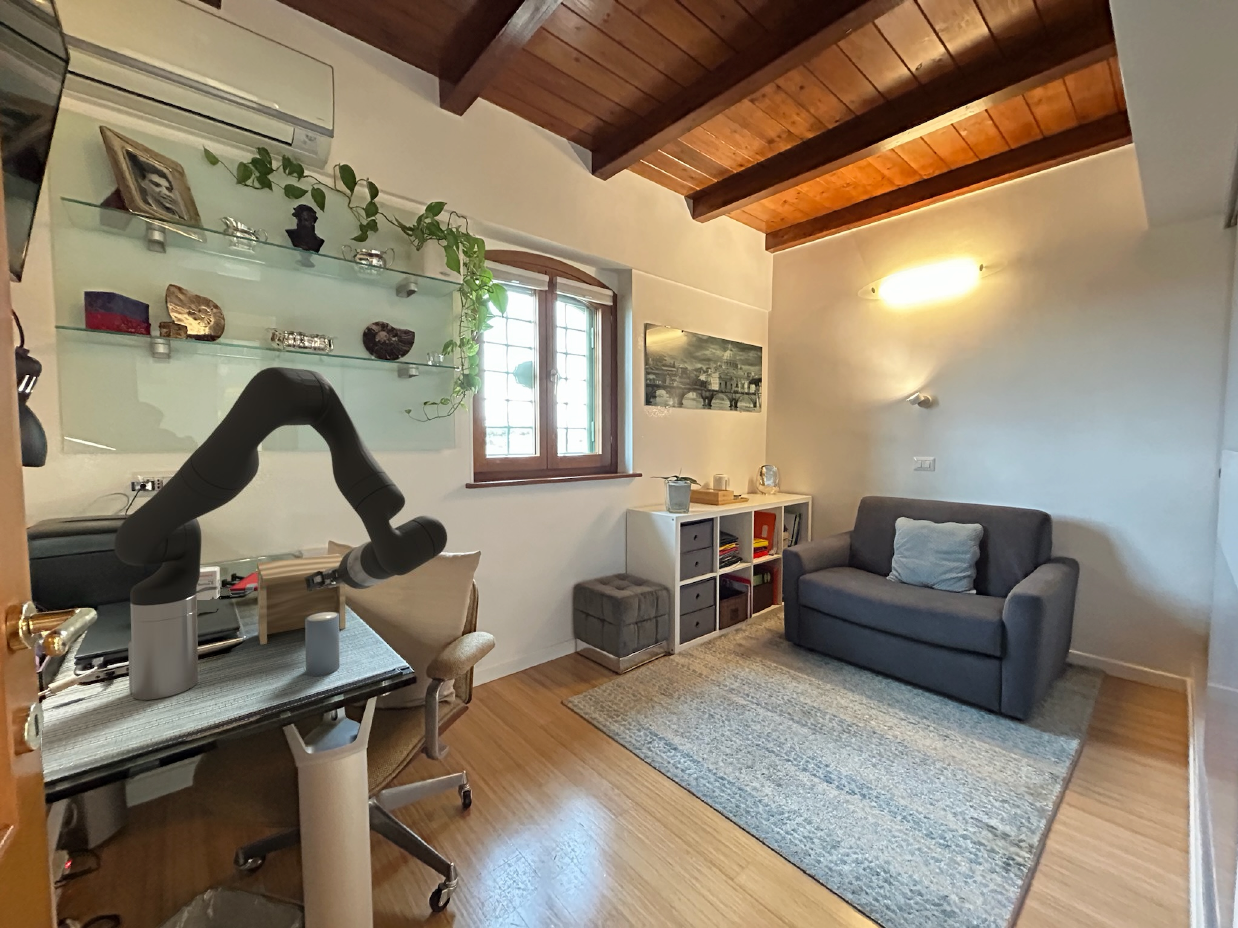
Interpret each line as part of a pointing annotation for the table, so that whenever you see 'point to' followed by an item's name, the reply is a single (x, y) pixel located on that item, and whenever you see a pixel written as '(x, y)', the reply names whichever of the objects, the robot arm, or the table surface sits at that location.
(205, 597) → the ink box
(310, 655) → the tumbler
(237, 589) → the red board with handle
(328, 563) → the wooden step stool
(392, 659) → the table surface
